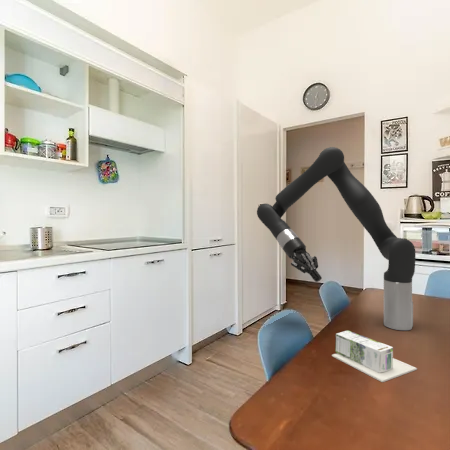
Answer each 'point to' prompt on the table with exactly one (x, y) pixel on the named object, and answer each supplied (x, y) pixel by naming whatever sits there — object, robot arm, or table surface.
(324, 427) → the table surface
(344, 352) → the syrup box
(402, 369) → the off-white mat
